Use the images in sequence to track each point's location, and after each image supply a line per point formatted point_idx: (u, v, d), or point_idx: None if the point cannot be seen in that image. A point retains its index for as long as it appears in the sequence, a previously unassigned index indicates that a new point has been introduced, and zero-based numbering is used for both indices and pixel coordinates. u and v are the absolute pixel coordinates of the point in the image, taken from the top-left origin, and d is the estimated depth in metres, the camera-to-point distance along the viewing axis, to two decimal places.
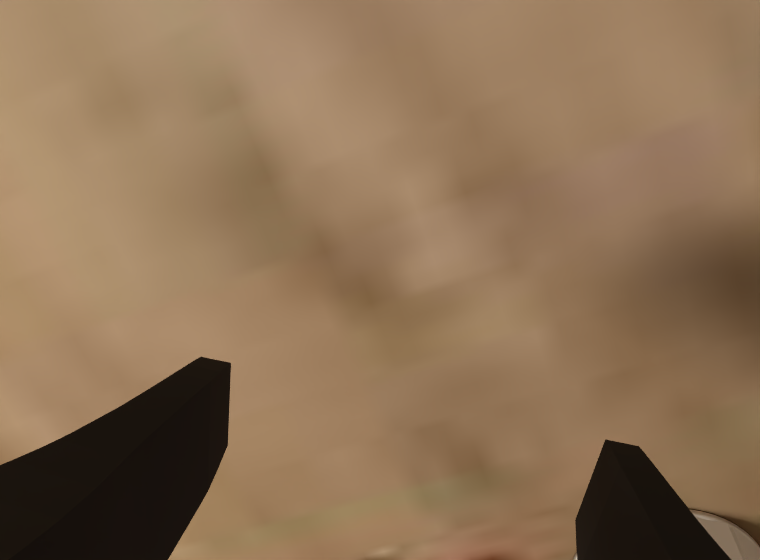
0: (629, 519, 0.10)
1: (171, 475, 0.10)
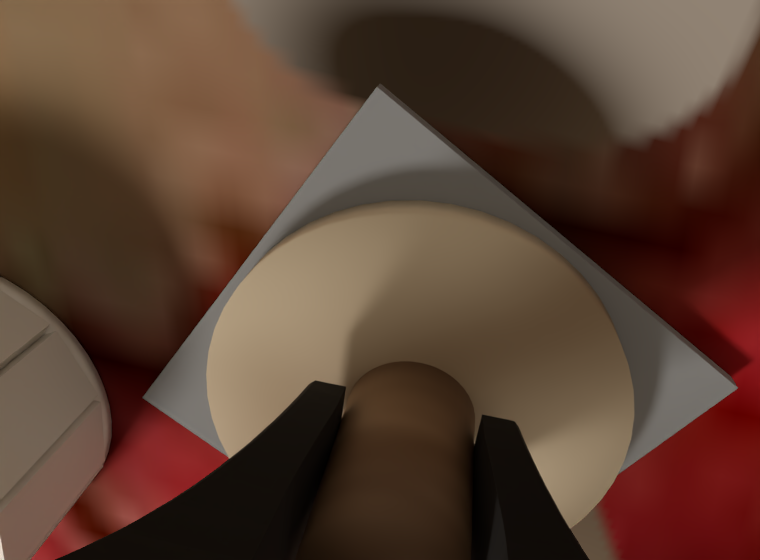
0: (486, 488, 0.10)
1: (304, 505, 0.10)
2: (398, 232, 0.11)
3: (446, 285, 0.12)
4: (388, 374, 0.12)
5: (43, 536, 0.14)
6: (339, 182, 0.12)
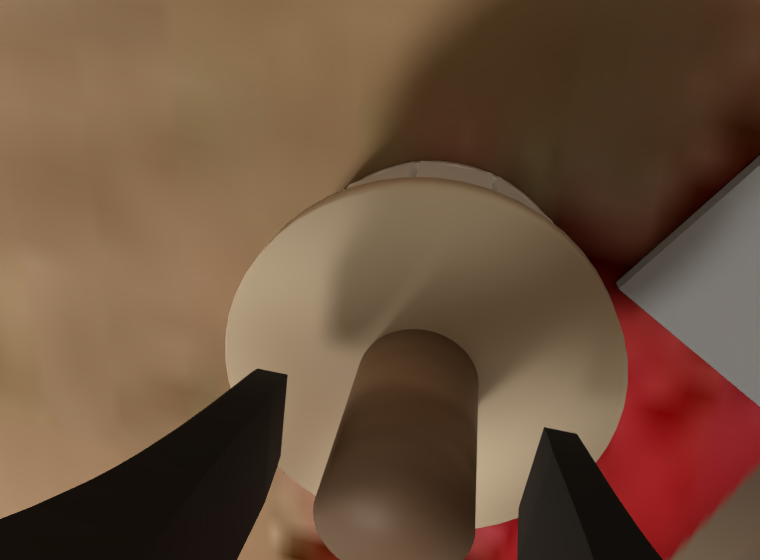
0: (557, 504, 0.10)
1: (237, 490, 0.10)
2: (413, 205, 0.12)
3: (456, 257, 0.12)
4: (399, 340, 0.13)
5: None
6: None
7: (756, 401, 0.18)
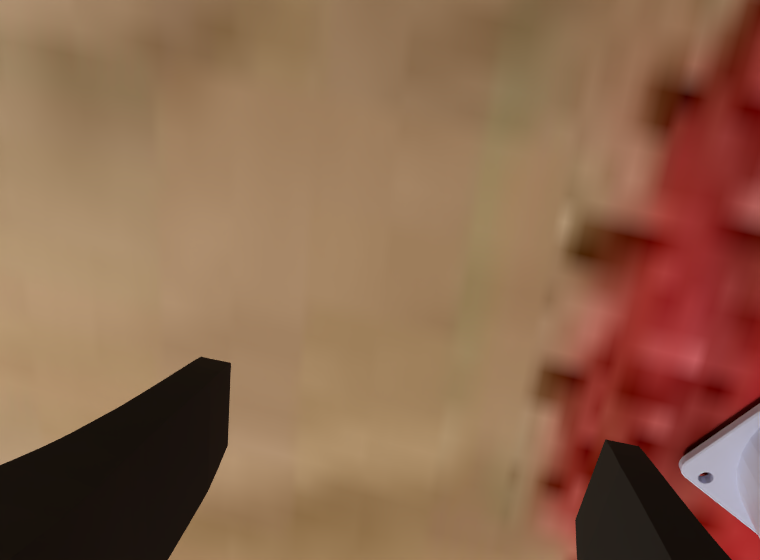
0: (629, 519, 0.10)
1: (171, 475, 0.10)
2: None
3: None
4: None
5: None
6: None
7: None
